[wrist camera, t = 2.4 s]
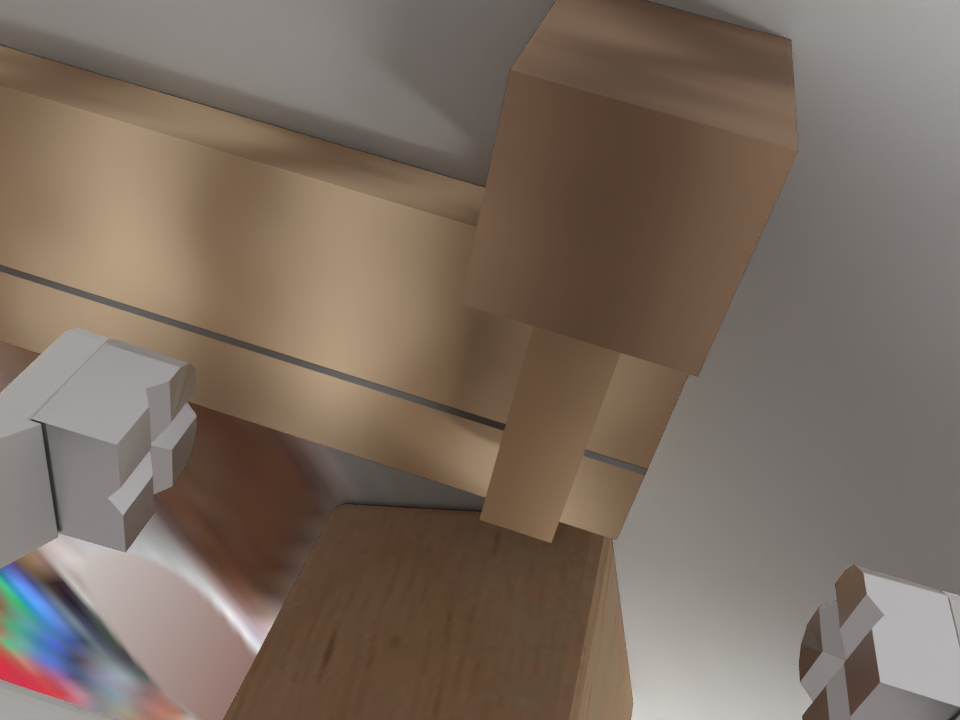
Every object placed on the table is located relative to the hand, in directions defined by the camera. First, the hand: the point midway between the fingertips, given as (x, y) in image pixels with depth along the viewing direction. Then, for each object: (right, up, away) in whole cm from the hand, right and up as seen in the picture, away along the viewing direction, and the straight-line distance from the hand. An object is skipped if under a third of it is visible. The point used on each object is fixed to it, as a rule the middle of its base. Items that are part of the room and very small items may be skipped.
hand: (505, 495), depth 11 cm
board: (-6, +4, +16) cm, 18 cm away
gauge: (+3, +5, +13) cm, 14 cm away
